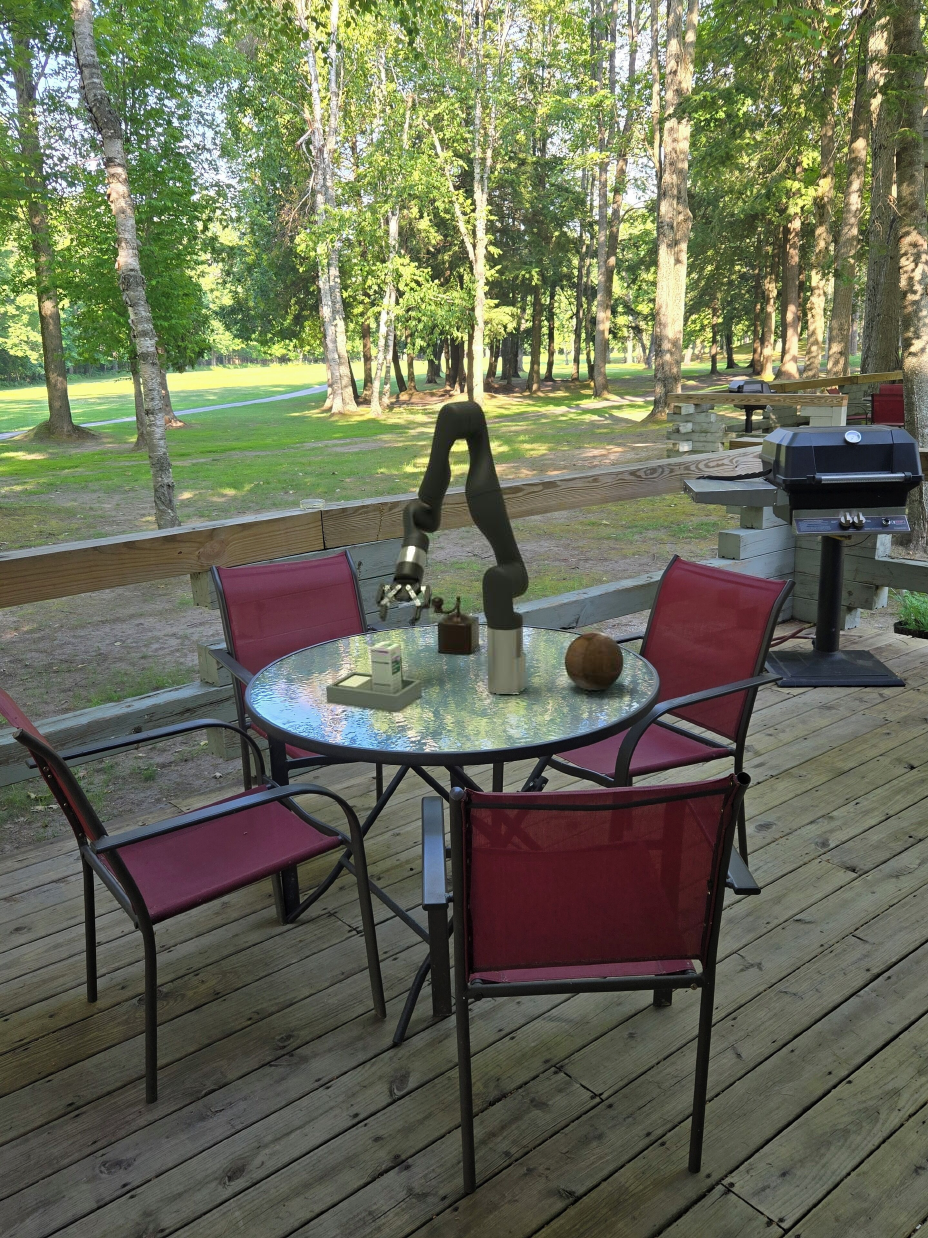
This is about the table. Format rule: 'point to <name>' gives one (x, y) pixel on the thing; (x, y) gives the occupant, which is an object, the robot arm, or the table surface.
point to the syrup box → (387, 667)
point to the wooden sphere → (594, 661)
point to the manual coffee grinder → (456, 630)
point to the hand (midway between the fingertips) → (398, 620)
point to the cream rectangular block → (358, 683)
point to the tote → (374, 695)
